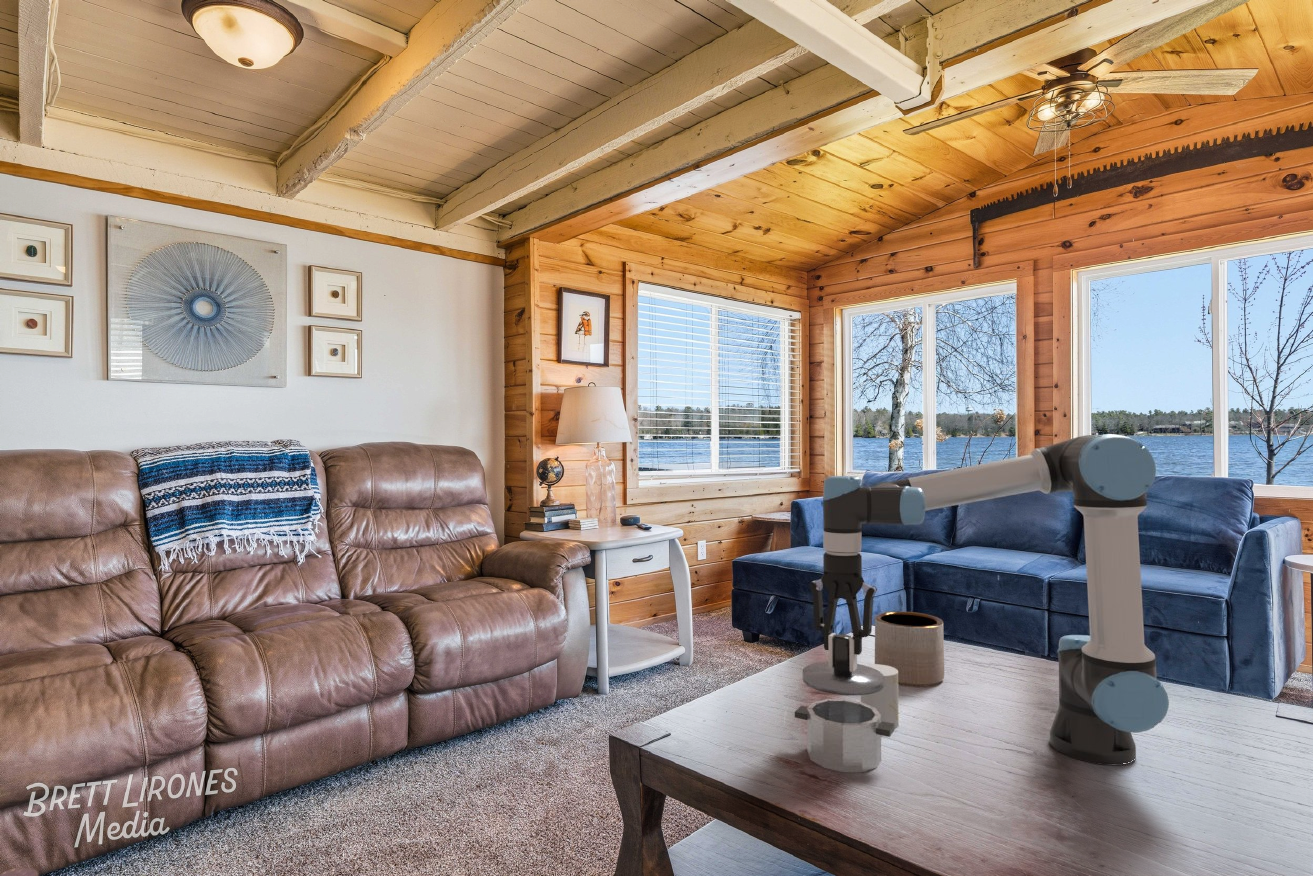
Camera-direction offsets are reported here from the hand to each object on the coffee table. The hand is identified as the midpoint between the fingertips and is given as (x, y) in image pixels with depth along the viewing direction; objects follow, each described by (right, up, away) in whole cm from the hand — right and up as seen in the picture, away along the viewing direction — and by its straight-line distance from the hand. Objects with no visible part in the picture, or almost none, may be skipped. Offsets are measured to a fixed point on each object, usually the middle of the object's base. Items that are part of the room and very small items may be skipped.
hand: (842, 667), depth 144 cm
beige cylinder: (+13, -18, +17) cm, 28 cm away
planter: (+30, -18, +48) cm, 60 cm away
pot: (0, -18, 0) cm, 18 cm away
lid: (0, -3, 0) cm, 3 cm away
